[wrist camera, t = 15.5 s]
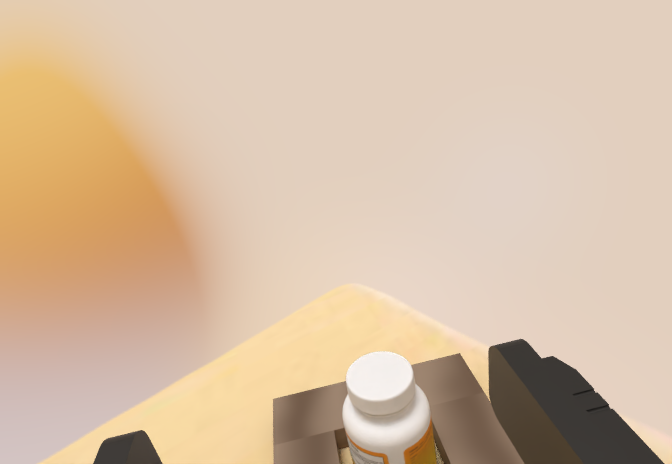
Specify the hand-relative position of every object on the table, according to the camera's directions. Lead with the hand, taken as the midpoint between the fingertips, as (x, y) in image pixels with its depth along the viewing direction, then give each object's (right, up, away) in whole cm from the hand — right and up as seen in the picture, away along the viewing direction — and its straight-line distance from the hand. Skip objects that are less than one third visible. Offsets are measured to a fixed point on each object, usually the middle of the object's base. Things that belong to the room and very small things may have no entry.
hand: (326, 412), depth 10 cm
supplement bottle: (+4, -13, +19) cm, 24 cm away
